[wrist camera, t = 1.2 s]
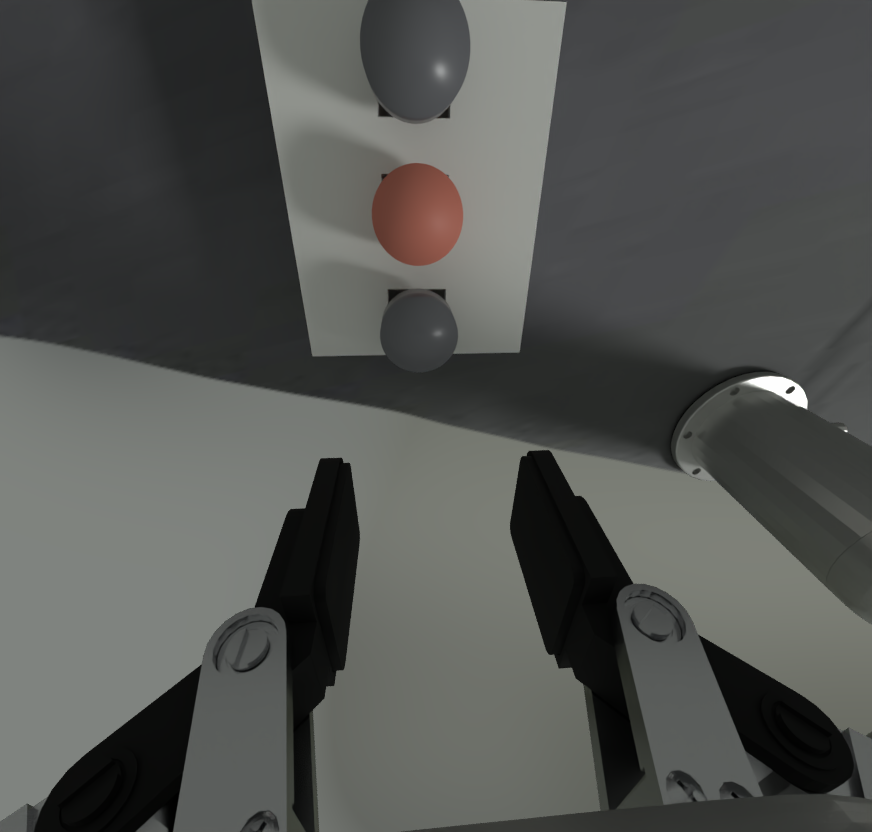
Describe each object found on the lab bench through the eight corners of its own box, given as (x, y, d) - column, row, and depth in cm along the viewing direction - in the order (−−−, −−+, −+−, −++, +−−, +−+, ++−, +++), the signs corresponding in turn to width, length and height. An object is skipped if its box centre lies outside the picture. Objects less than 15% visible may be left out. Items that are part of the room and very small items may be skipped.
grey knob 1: (456, 22, 19) (473, -29, 14) (453, 132, 21) (467, 119, 17) (366, 18, 19) (354, -36, 14) (373, 130, 21) (364, 117, 16)
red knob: (452, 166, 22) (465, 163, 17) (449, 249, 24) (461, 265, 20) (375, 165, 22) (368, 162, 17) (380, 249, 24) (375, 266, 19)
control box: (529, 41, 22) (566, 1, 17) (500, 324, 31) (519, 352, 26) (285, 32, 22) (249, -13, 16) (327, 326, 30) (312, 356, 25)
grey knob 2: (449, 275, 25) (459, 297, 21) (447, 339, 28) (456, 371, 23) (382, 275, 25) (377, 297, 20) (386, 340, 27) (382, 373, 23)
